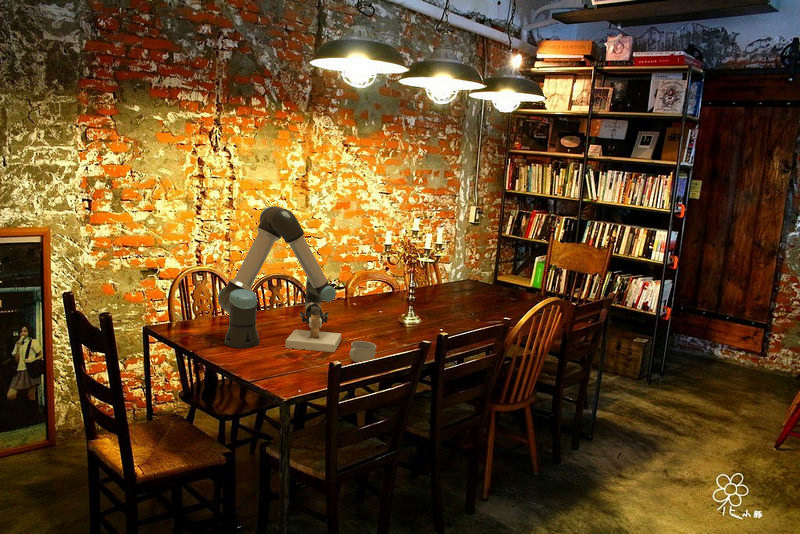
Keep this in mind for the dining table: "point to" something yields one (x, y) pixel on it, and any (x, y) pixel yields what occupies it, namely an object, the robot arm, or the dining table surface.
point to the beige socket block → (313, 341)
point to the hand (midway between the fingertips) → (315, 324)
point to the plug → (315, 322)
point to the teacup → (362, 351)
